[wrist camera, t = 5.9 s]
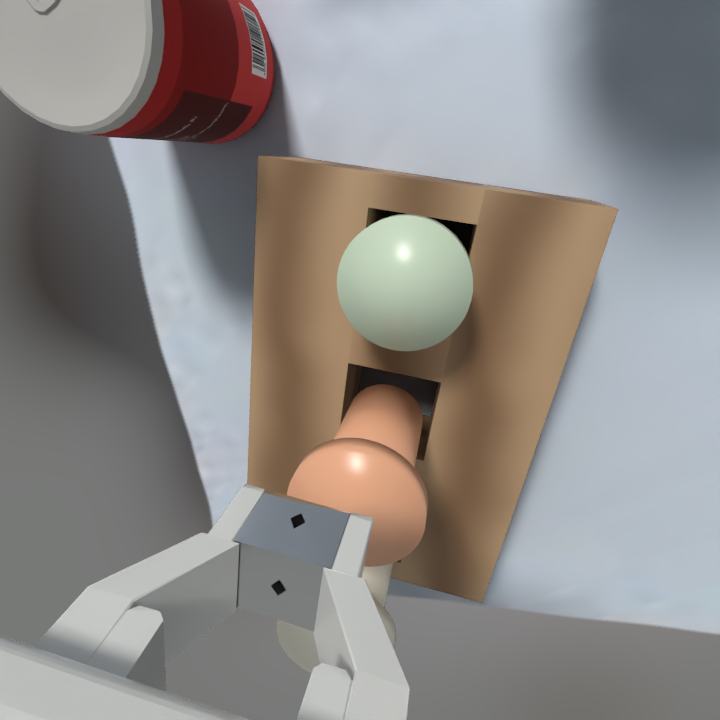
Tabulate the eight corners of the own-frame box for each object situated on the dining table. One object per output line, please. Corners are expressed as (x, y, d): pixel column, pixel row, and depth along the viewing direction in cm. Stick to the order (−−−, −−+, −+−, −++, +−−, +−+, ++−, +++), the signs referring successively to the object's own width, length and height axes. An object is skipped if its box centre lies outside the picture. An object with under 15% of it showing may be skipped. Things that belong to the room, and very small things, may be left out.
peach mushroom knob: (447, 382, 23) (439, 472, 17) (427, 471, 26) (411, 581, 19) (341, 360, 24) (291, 436, 17) (330, 448, 27) (282, 546, 20)
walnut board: (590, 200, 24) (618, 209, 19) (480, 544, 34) (482, 602, 29) (294, 156, 26) (257, 155, 22) (273, 490, 36) (245, 537, 32)
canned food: (191, -66, 23) (-19, -237, 13) (309, 56, 24) (197, -18, 14) (123, 71, 26) (-86, 16, 16) (230, 173, 27) (93, 180, 17)
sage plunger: (483, 210, 24) (488, 229, 17) (459, 311, 26) (456, 363, 20) (378, 194, 25) (344, 206, 18) (364, 293, 27) (330, 337, 21)
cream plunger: (419, 505, 27) (402, 620, 20) (403, 573, 29) (383, 698, 22) (326, 481, 28) (279, 585, 21) (317, 550, 30) (273, 663, 23)
